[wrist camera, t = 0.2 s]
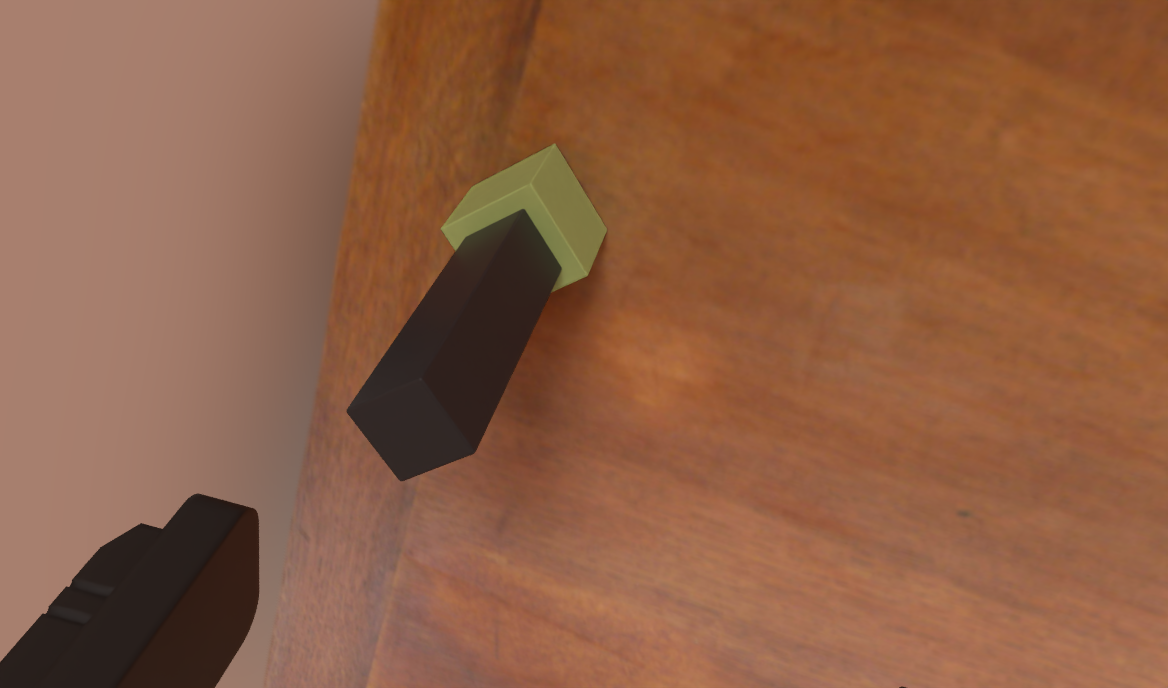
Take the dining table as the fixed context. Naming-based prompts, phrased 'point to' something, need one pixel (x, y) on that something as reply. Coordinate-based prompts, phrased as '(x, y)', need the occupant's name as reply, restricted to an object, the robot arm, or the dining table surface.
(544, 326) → the dining table surface
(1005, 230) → the dining table surface
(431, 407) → the brush
